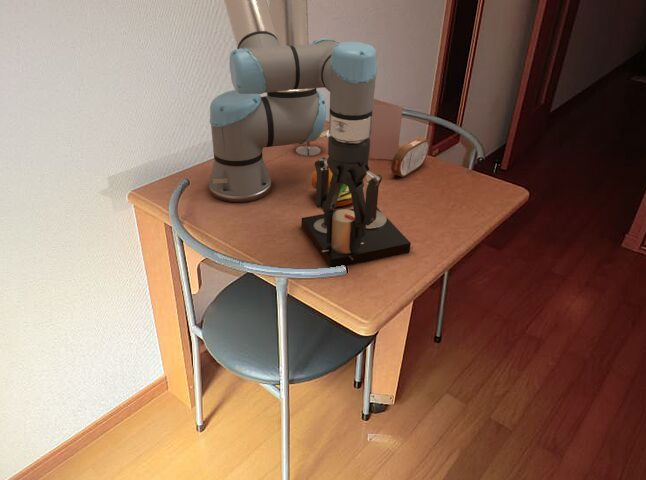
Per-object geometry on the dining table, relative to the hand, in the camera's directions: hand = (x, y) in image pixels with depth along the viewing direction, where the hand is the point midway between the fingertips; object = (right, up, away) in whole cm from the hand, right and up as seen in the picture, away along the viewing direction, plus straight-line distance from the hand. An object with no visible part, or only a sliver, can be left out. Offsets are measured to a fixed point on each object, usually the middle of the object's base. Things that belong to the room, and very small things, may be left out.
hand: (343, 244), depth 112 cm
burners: (+2, +5, +9) cm, 10 cm away
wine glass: (-8, +28, +45) cm, 54 cm away
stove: (+3, +1, +8) cm, 8 cm away
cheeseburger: (-1, +11, +22) cm, 25 cm away
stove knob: (0, -1, 0) cm, 1 cm away
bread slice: (+19, +21, +36) cm, 46 cm away
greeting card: (+11, +26, +43) cm, 51 cm away
